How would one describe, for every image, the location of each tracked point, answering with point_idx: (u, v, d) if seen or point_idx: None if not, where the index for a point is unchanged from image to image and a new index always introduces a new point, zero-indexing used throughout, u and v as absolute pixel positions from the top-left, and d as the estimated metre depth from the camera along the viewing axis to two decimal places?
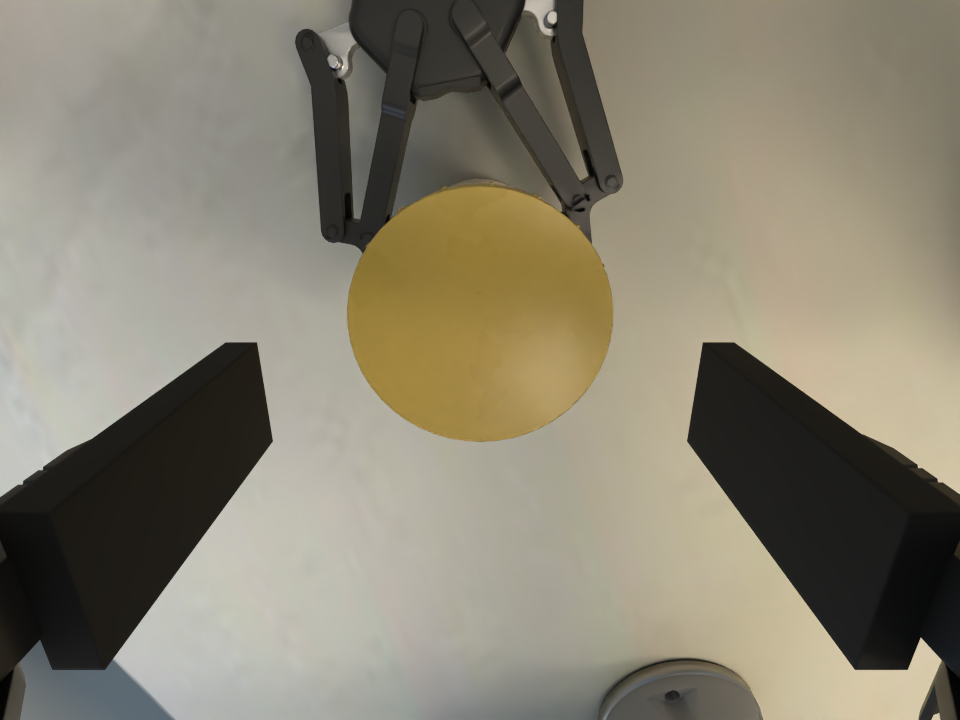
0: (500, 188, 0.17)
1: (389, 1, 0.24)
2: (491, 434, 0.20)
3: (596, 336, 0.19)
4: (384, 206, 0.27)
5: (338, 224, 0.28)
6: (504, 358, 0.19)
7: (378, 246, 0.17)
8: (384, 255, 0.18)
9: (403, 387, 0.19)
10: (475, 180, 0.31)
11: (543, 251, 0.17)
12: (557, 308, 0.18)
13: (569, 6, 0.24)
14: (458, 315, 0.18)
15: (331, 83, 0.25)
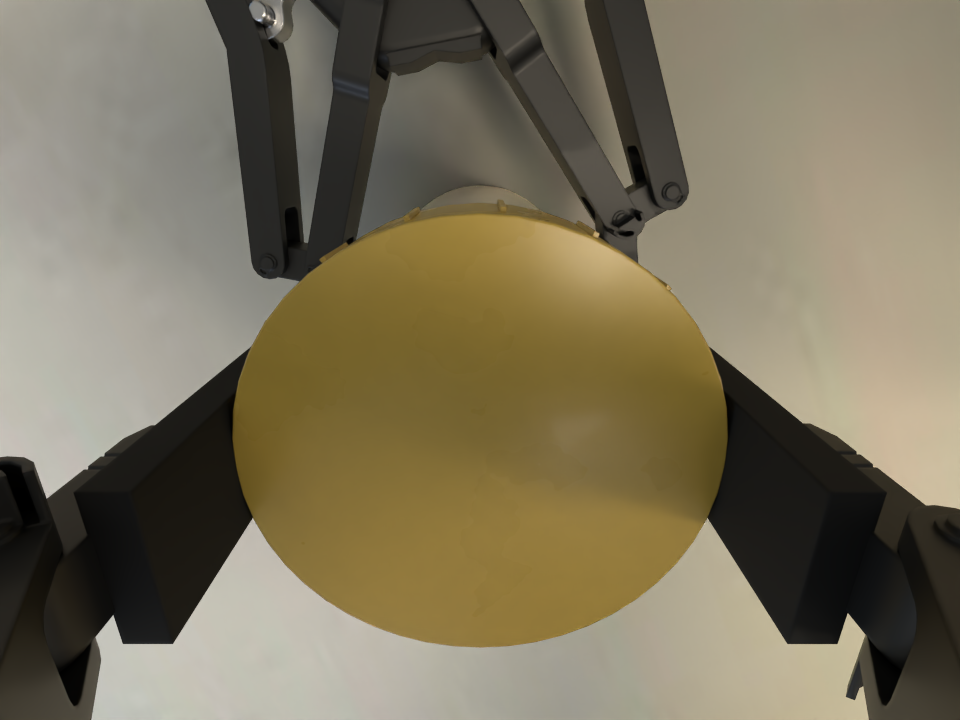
0: (521, 218, 0.08)
1: None
2: (499, 637, 0.11)
3: (693, 485, 0.10)
4: (342, 227, 0.19)
5: (276, 253, 0.19)
6: (524, 520, 0.10)
7: (282, 328, 0.09)
8: (295, 345, 0.09)
9: (343, 566, 0.11)
10: (473, 188, 0.23)
11: (602, 338, 0.09)
12: (624, 438, 0.10)
13: None
14: (439, 450, 0.10)
15: (257, 45, 0.17)
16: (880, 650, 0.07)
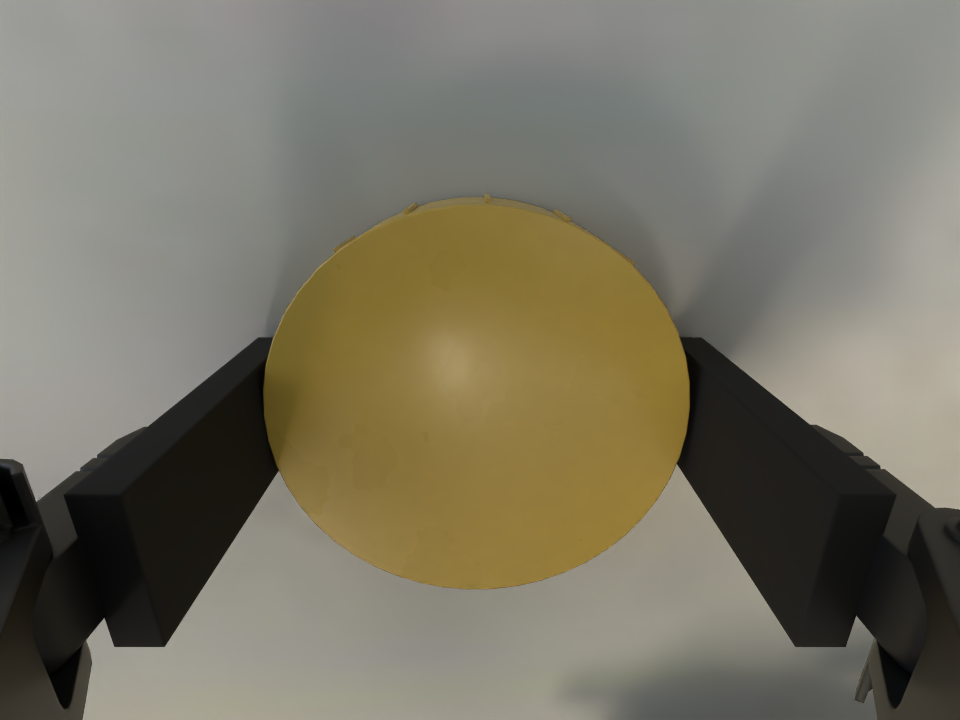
0: (269, 437, 0.12)
1: None
2: (673, 368, 0.11)
3: (452, 234, 0.10)
4: None
5: None
6: (525, 378, 0.11)
7: (396, 565, 0.13)
8: (406, 558, 0.13)
9: (600, 510, 0.12)
10: None
11: (335, 360, 0.11)
12: (419, 315, 0.11)
13: None
14: (468, 457, 0.12)
15: None
16: (890, 653, 0.07)
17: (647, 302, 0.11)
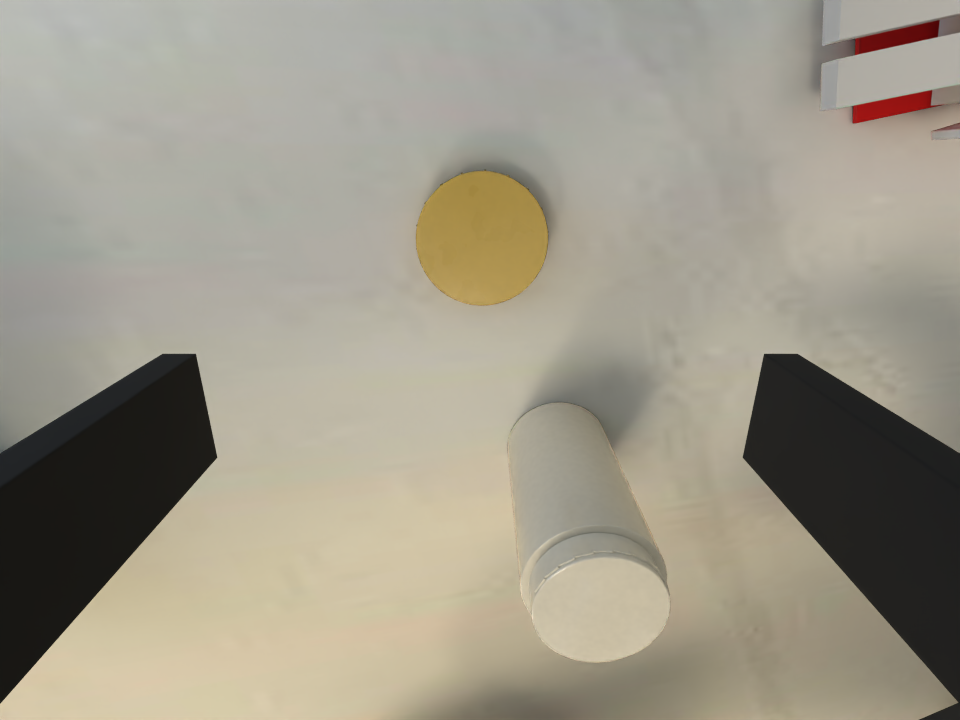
0: (416, 245, 0.37)
1: None
2: (541, 222, 0.36)
3: (475, 179, 0.35)
4: None
5: None
6: (496, 225, 0.37)
7: (454, 295, 0.38)
8: (458, 292, 0.38)
9: (522, 273, 0.38)
10: None
11: (439, 219, 0.36)
12: (465, 204, 0.36)
13: None
14: (479, 253, 0.37)
15: None
16: None
17: (532, 200, 0.36)
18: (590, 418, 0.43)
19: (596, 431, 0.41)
